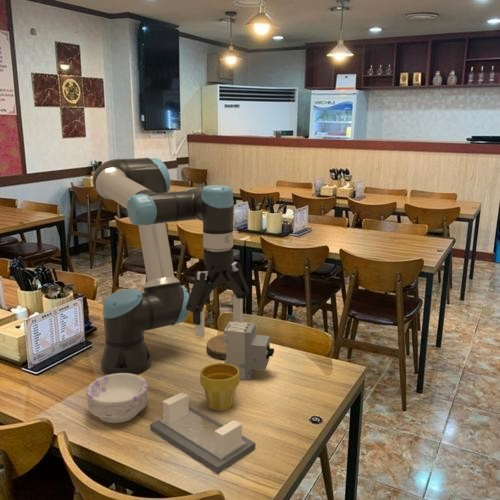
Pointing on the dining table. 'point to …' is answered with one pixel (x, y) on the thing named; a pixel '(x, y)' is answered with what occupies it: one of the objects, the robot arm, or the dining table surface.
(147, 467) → the dining table surface
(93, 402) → the paper bowls
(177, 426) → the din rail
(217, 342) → the wood slice
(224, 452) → the mounted modules
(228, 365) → the plant pot
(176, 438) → the mounting plate
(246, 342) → the circuit breaker
